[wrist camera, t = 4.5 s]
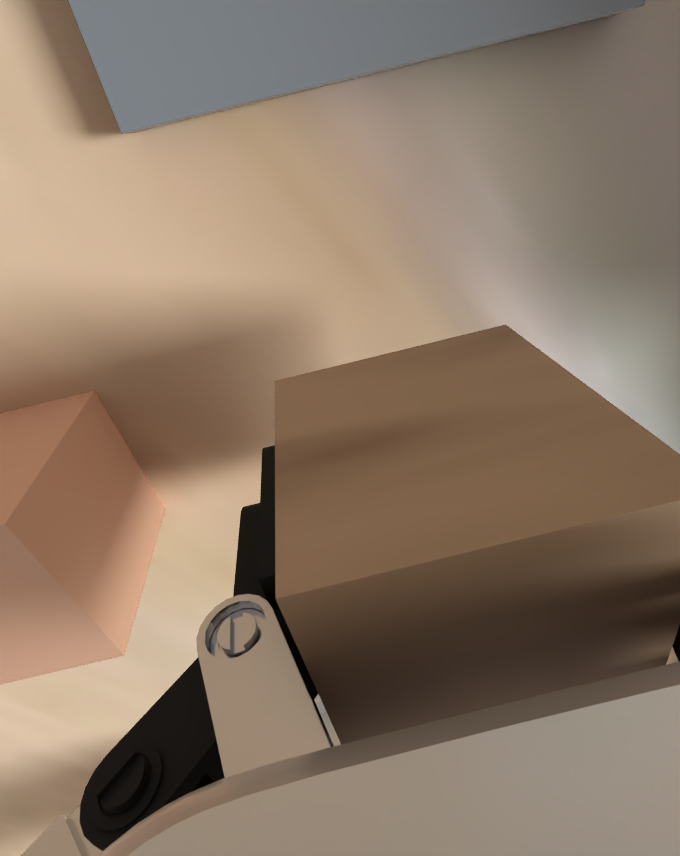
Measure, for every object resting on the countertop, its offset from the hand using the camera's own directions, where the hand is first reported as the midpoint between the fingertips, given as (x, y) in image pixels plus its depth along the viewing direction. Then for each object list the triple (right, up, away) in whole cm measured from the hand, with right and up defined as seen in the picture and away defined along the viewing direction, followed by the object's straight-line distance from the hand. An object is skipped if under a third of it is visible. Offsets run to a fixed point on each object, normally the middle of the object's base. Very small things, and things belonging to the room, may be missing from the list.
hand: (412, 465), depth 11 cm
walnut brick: (0, 0, +1) cm, 1 cm away
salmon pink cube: (-12, -1, +5) cm, 13 cm away
